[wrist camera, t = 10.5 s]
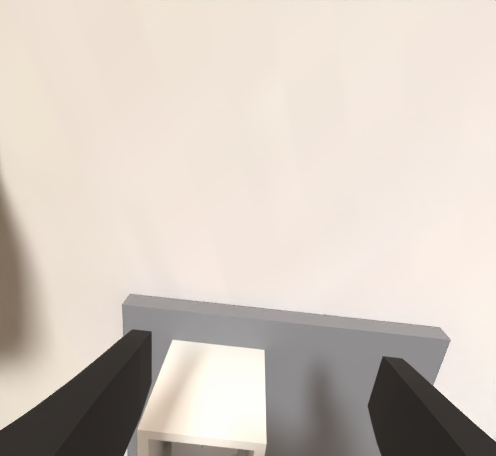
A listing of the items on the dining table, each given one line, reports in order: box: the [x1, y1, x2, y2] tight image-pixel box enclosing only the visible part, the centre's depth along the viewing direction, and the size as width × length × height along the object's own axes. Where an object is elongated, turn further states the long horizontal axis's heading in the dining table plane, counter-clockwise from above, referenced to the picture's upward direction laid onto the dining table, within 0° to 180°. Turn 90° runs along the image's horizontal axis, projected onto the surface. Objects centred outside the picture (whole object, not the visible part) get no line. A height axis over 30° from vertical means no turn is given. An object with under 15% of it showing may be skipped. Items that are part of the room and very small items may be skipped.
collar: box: [137, 340, 267, 456], centre depth 18 cm, size 6×6×6 cm
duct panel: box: [122, 294, 451, 456], centre depth 22 cm, size 20×16×1 cm
